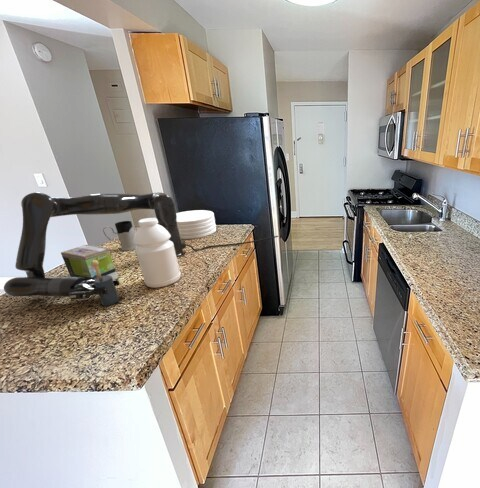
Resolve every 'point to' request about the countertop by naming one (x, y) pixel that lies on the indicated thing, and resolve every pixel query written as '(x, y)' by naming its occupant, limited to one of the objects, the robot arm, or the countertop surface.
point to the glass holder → (125, 235)
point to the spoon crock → (105, 286)
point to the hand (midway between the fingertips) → (112, 286)
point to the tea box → (89, 262)
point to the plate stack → (195, 223)
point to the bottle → (156, 254)
